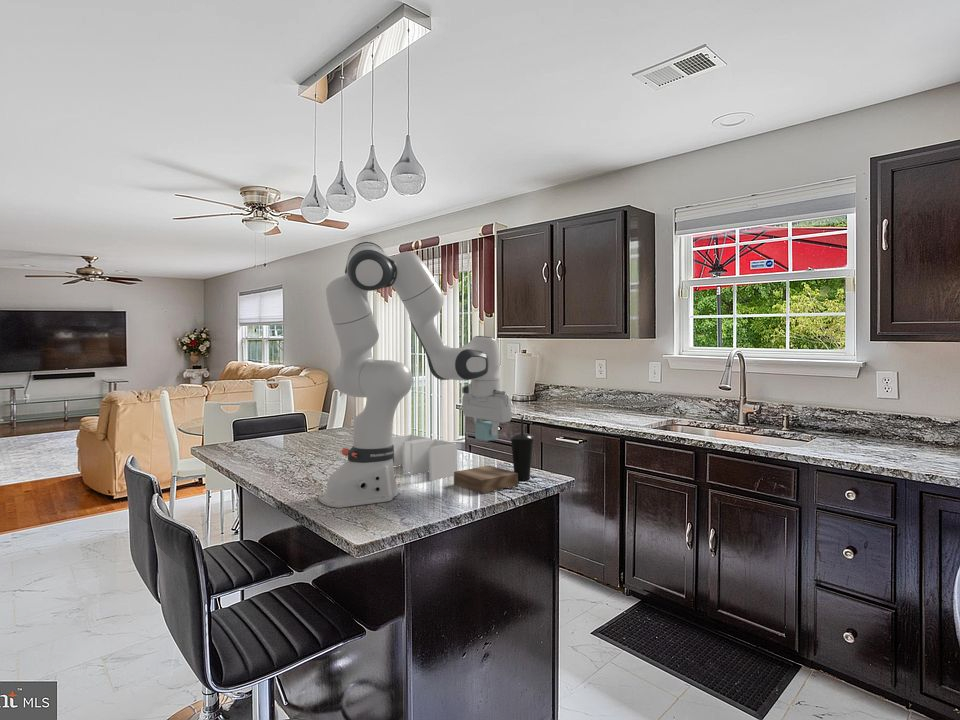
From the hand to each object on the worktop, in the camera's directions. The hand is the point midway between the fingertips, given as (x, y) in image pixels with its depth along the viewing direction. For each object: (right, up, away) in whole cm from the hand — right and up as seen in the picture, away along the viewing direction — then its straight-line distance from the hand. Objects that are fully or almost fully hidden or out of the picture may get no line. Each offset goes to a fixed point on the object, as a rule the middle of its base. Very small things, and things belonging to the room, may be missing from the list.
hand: (486, 433), depth 171 cm
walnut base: (0, -16, 0) cm, 16 cm away
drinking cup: (+12, -16, +9) cm, 21 cm away
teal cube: (0, -2, 0) cm, 2 cm away
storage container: (-22, -16, +19) cm, 33 cm away
